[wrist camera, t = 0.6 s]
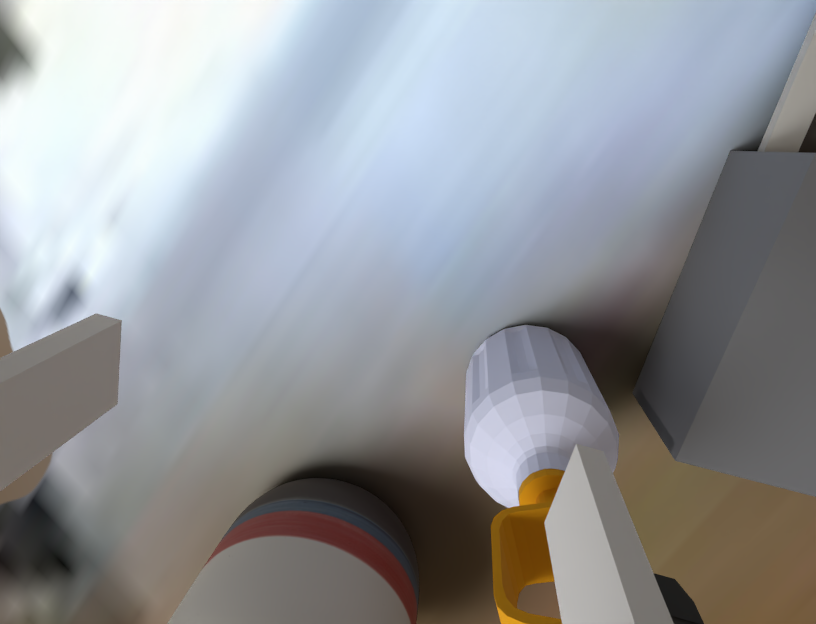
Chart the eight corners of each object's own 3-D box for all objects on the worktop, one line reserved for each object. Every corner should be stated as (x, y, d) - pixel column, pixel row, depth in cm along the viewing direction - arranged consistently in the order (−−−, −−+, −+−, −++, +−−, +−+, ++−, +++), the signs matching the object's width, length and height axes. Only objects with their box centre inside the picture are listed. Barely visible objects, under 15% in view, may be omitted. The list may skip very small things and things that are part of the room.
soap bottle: (594, 419, 41) (752, 782, 18) (479, 437, 43) (484, 791, 19) (576, 312, 38) (731, 569, 15) (454, 336, 40) (427, 599, 17)
